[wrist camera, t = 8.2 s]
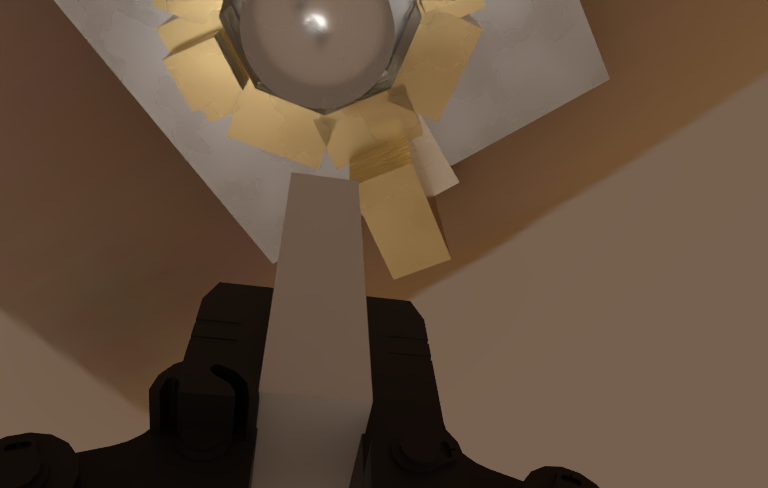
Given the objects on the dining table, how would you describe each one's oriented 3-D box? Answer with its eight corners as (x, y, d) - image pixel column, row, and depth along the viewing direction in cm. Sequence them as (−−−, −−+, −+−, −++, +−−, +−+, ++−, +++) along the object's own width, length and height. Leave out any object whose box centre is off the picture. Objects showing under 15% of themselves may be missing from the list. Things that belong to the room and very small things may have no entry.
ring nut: (119, -85, 20) (58, -77, 16) (405, -226, 18) (422, -258, 14) (303, 247, 26) (295, 314, 22) (523, 165, 25) (557, 220, 21)
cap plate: (3, -89, 21) (-122, -79, 15) (406, -413, 17) (433, -552, 12) (286, 258, 29) (270, 349, 23) (603, 85, 25) (675, 143, 20)
